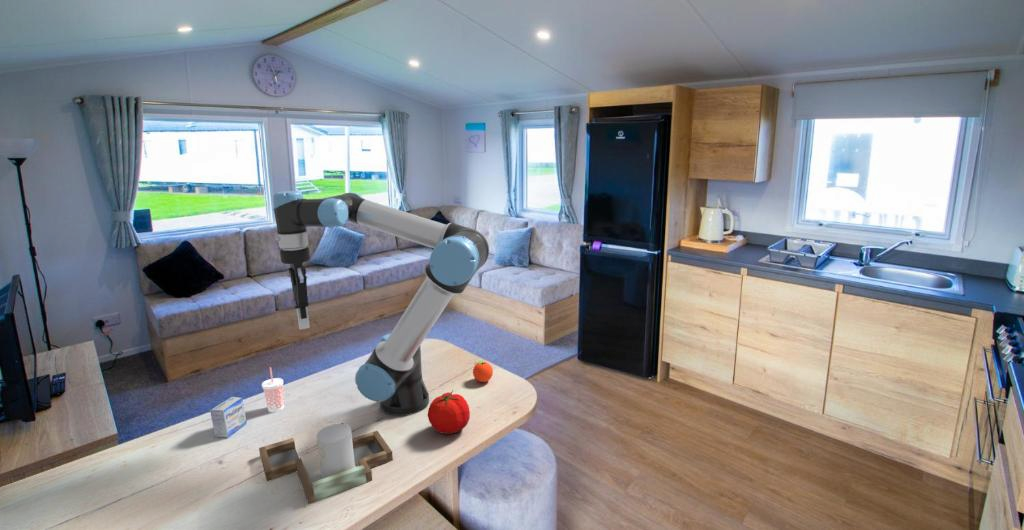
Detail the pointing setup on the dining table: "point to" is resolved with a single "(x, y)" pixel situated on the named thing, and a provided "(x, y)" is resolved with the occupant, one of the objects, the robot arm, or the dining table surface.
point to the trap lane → (366, 455)
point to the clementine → (482, 371)
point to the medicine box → (228, 417)
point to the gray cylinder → (335, 449)
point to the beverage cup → (274, 393)
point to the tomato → (448, 413)
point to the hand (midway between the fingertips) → (304, 327)
